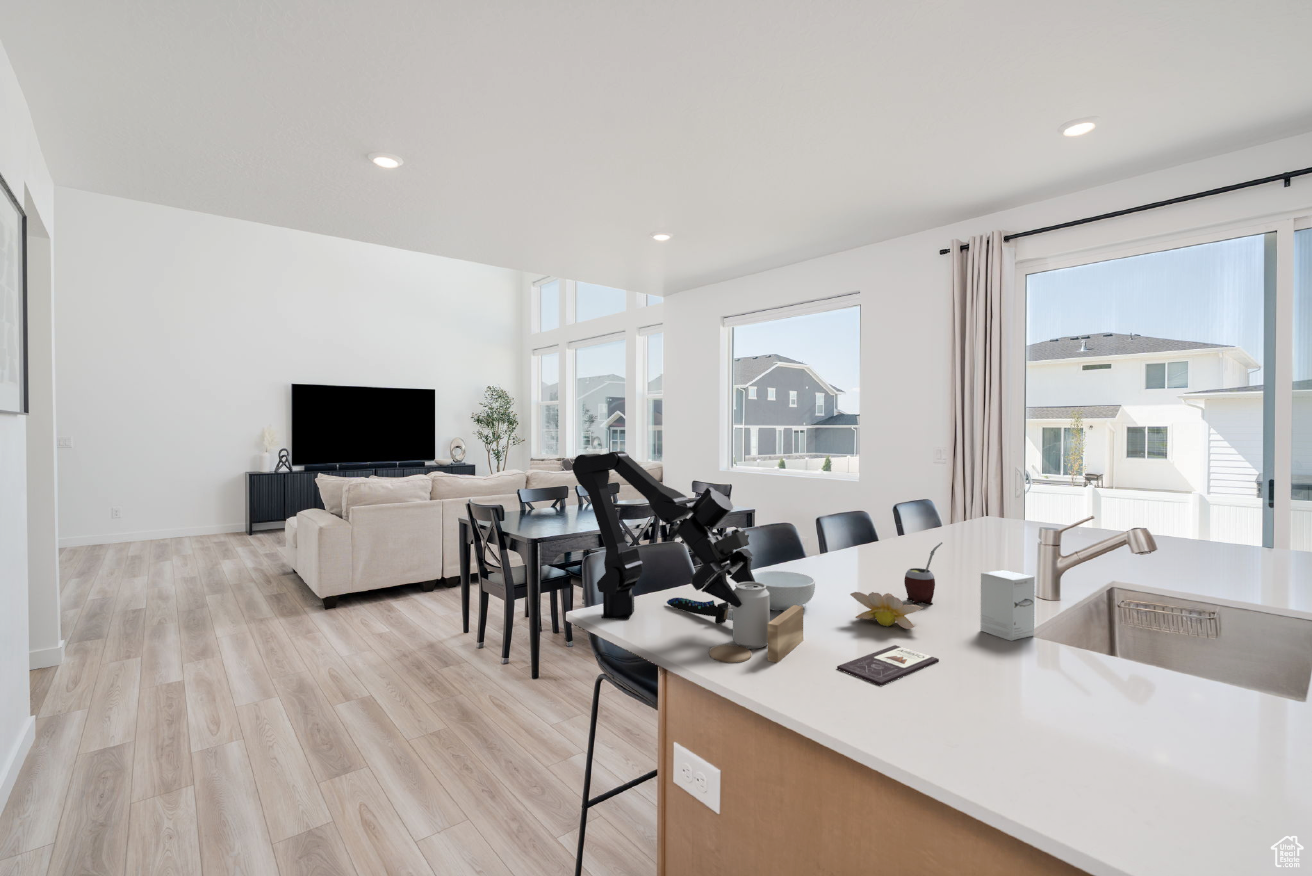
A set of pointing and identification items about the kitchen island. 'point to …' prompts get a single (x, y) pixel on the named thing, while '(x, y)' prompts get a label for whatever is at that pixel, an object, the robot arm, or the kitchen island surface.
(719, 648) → the coaster
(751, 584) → the can
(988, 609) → the supplement box
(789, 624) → the plinth board
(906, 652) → the chocolate bar
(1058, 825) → the kitchen island surface
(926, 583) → the mate gourd
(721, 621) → the knife
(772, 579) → the cereal bowl
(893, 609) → the decorative flower
